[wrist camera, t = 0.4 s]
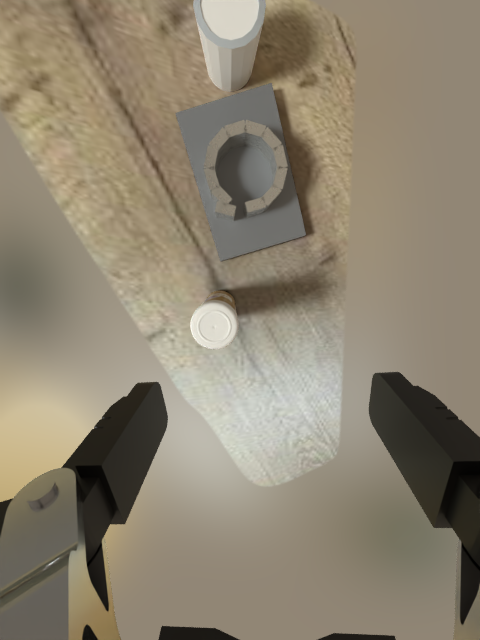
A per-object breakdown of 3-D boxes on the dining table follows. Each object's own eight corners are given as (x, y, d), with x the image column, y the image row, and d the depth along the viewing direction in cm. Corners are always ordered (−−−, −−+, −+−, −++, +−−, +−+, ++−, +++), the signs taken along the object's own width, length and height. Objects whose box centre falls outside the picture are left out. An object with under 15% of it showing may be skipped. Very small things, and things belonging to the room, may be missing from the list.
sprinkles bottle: (222, 283, 35) (217, 292, 22) (241, 308, 36) (249, 330, 23) (197, 303, 36) (179, 323, 22) (217, 327, 36) (211, 360, 23)
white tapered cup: (211, 20, 29) (206, -58, 22) (265, 46, 30) (276, -21, 23) (194, 83, 30) (183, 28, 23) (246, 107, 31) (251, 60, 24)
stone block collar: (196, 148, 30) (192, 135, 27) (270, 125, 30) (274, 110, 27) (219, 226, 32) (217, 221, 29) (289, 204, 32) (295, 198, 29)
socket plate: (178, 120, 31) (175, 113, 29) (269, 91, 31) (271, 82, 29) (220, 261, 34) (220, 261, 33) (302, 236, 34) (306, 235, 33)
